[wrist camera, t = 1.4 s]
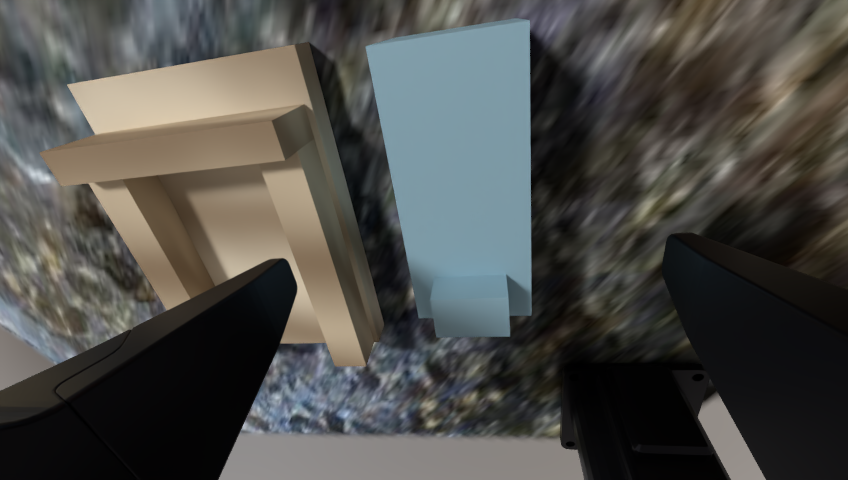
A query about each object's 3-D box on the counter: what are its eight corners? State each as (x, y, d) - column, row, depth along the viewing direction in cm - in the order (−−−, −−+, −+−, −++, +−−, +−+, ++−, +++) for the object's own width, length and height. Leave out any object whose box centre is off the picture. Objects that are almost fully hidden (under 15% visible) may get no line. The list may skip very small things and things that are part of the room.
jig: (384, 324, 20) (366, 382, 17) (228, 328, 21) (186, 381, 18) (308, 42, 13) (256, 50, 10) (95, 79, 15) (-5, 97, 12)
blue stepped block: (521, 253, 17) (535, 340, 12) (431, 258, 17) (414, 342, 13) (516, 18, 12) (536, 21, 8) (395, 37, 13) (351, 49, 9)
